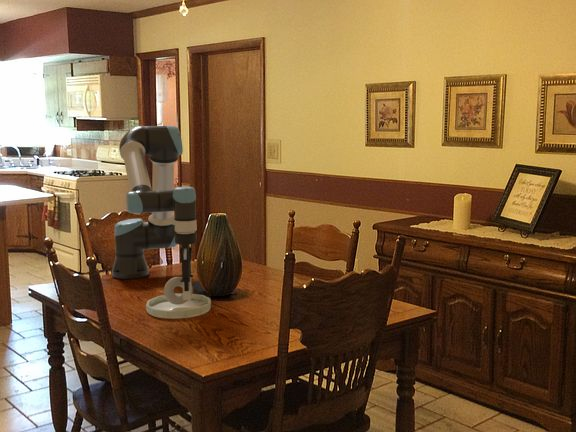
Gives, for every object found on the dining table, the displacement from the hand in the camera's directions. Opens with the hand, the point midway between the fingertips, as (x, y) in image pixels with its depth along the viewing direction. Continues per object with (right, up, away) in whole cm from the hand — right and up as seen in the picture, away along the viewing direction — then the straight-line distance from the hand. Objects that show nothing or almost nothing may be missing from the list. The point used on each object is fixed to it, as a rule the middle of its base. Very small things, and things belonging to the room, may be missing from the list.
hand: (187, 297), depth 236 cm
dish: (-3, -4, 0) cm, 5 cm away
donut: (-3, -3, 0) cm, 4 cm away
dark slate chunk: (+6, -1, +26) cm, 27 cm away
